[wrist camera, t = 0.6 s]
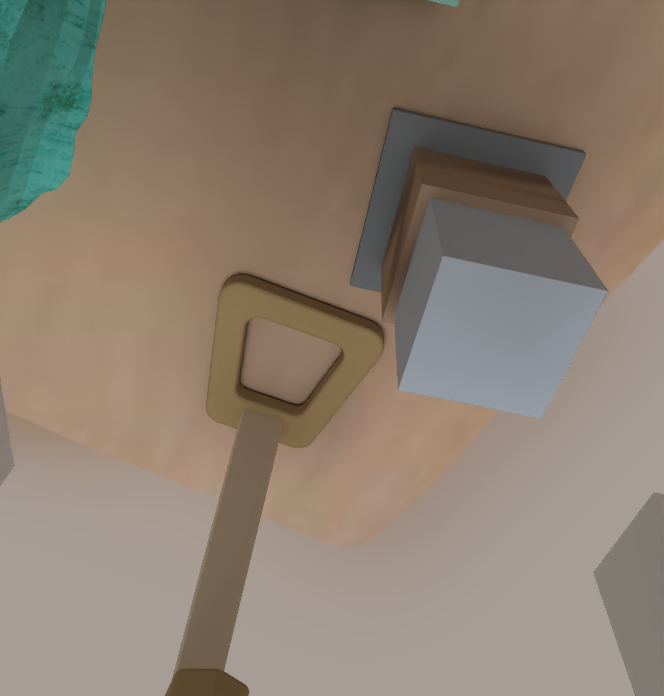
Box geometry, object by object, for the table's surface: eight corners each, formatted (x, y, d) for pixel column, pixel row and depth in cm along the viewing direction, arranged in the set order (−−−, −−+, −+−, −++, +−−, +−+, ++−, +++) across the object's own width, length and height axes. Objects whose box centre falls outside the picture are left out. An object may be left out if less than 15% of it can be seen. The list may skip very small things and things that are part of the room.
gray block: (430, 197, 25) (443, 255, 20) (563, 226, 26) (608, 291, 21) (394, 314, 29) (398, 389, 24) (512, 339, 29) (541, 418, 24)
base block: (414, 146, 30) (422, 183, 25) (545, 176, 30) (579, 218, 25) (381, 268, 34) (381, 321, 29) (498, 293, 34) (518, 349, 29)
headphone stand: (390, 326, 37) (404, 694, 18) (327, 446, 42) (290, 816, 24) (229, 266, 35) (67, 602, 17) (186, 399, 41) (31, 756, 23)
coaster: (393, 107, 30) (393, 109, 29) (583, 150, 30) (586, 153, 30) (350, 281, 35) (350, 285, 35) (511, 315, 36) (513, 319, 35)
